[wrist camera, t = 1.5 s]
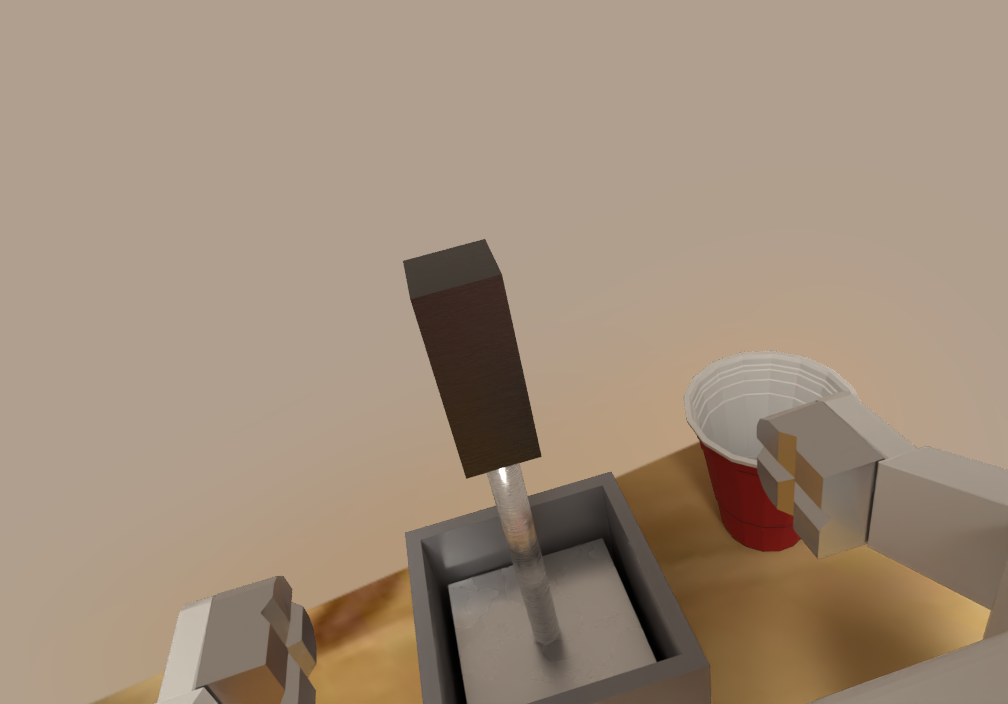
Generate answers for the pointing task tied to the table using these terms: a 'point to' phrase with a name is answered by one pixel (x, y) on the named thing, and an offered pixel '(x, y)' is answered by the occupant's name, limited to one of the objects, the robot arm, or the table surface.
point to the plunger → (513, 505)
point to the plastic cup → (751, 433)
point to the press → (559, 525)
